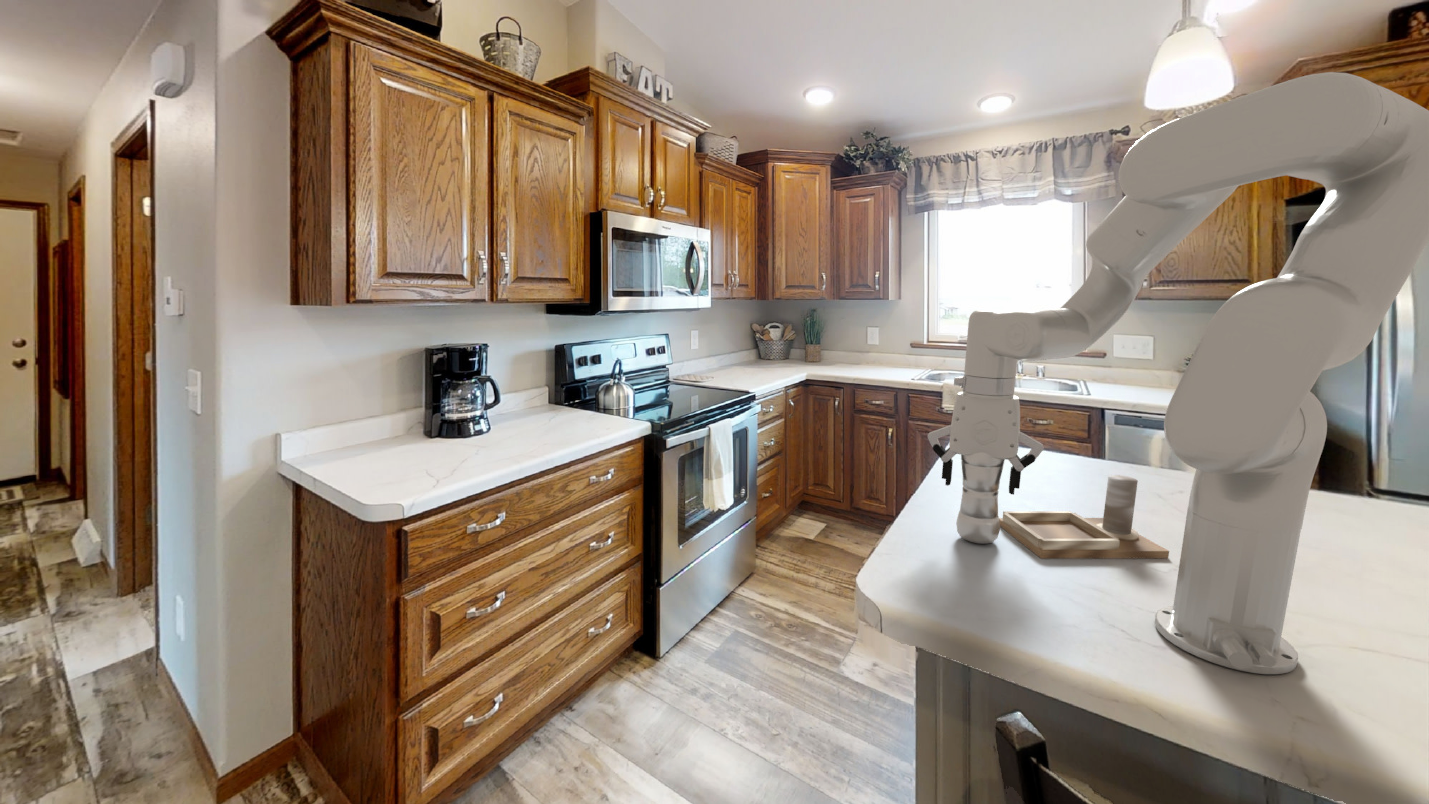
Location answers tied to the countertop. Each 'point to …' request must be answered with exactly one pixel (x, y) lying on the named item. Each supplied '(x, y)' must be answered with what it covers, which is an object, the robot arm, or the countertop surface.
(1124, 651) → the countertop surface
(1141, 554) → the board
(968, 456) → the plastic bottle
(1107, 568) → the countertop surface
